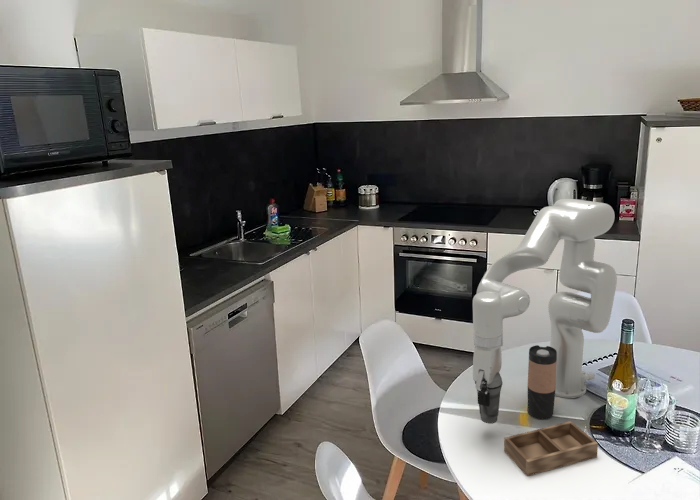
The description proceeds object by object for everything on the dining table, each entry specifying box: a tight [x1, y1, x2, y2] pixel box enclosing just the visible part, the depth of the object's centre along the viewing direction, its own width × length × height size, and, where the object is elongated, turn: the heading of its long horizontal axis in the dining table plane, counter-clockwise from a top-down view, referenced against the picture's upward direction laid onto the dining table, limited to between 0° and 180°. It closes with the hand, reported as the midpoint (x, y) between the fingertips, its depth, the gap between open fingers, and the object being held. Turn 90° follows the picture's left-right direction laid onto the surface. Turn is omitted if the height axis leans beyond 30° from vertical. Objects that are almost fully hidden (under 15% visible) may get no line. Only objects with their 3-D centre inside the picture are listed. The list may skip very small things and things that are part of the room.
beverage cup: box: [474, 372, 503, 425], centre depth 150 cm, size 7×7×20 cm
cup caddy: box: [503, 420, 599, 477], centre depth 144 cm, size 20×11×4 cm, turn 106°
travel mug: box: [527, 345, 557, 421], centre depth 160 cm, size 8×8×20 cm
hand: (488, 397), depth 151 cm, fingers closed on beverage cup, 6 cm apart
